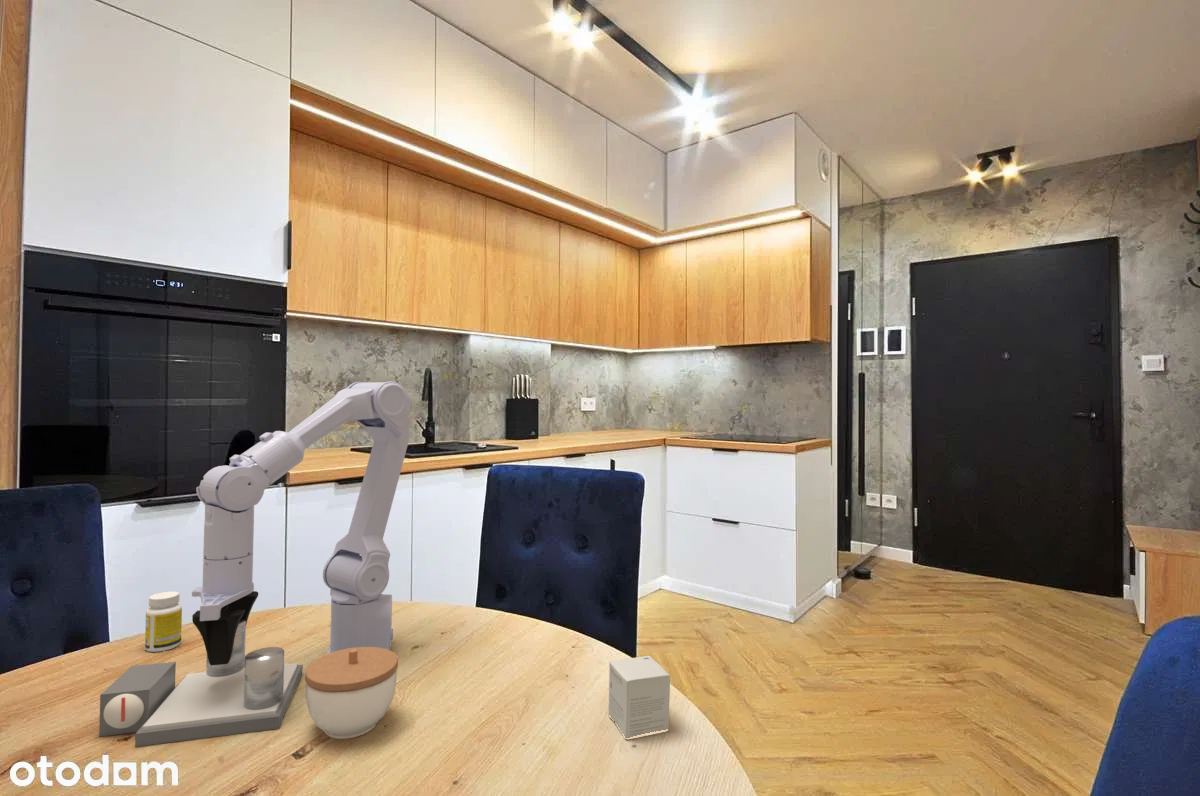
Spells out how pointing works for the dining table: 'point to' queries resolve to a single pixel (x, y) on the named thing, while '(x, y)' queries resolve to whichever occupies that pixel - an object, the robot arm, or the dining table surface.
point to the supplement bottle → (163, 622)
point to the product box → (639, 695)
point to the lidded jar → (350, 690)
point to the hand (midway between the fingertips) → (225, 655)
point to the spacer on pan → (263, 678)
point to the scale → (186, 705)
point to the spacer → (236, 658)
